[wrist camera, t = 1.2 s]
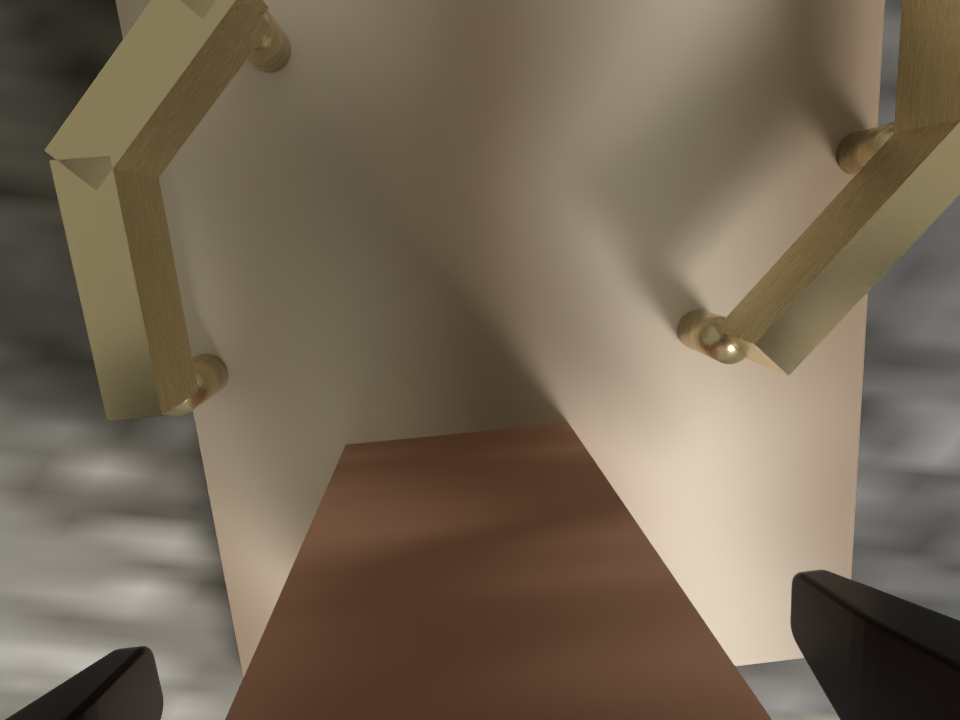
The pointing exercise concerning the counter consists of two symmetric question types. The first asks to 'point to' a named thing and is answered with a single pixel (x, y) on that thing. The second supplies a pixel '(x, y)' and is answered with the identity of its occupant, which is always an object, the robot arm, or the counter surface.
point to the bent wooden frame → (260, 40)
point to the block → (484, 596)
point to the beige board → (530, 269)
